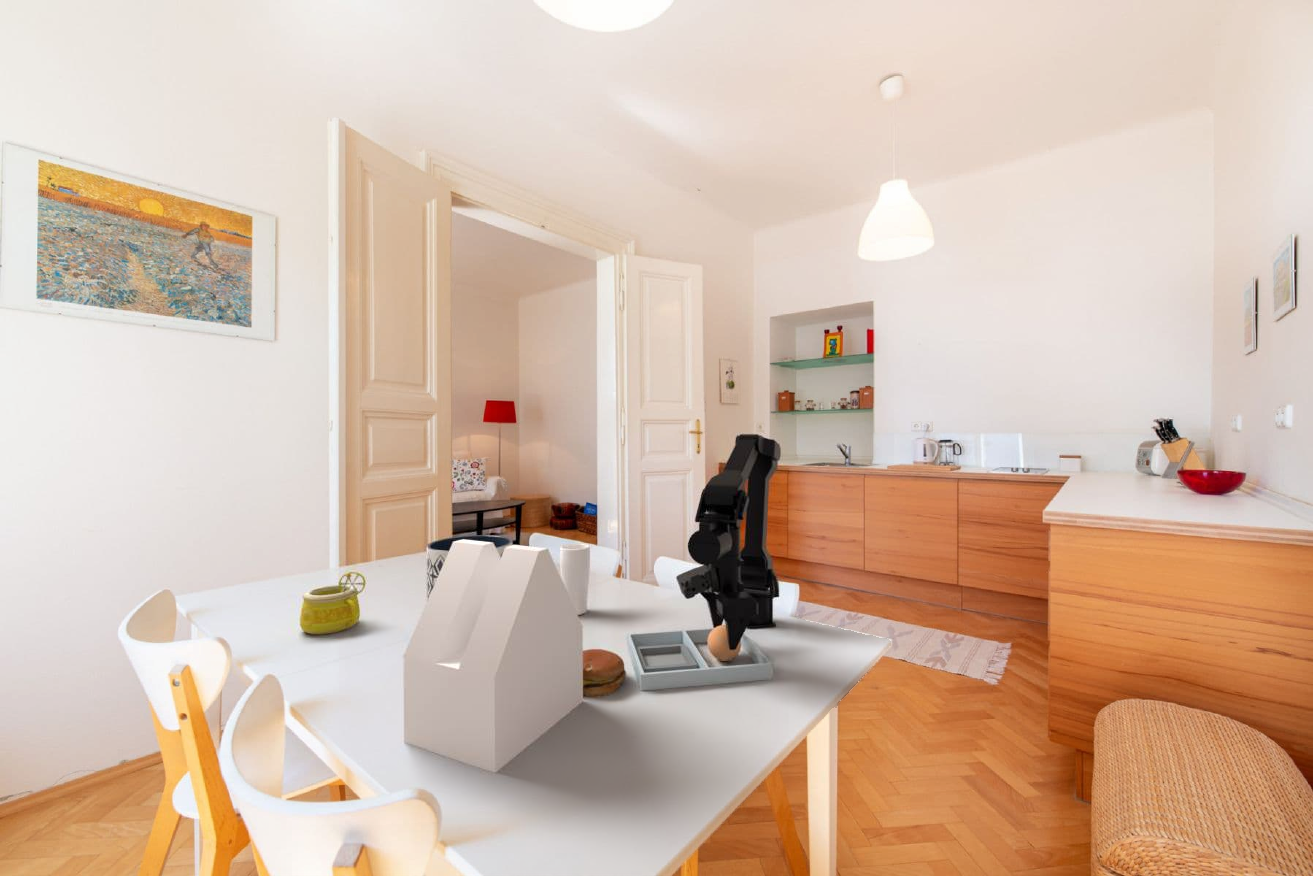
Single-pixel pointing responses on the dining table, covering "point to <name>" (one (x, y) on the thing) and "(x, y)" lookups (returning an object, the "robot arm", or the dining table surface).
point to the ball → (721, 644)
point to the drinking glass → (576, 573)
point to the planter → (441, 548)
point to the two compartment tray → (703, 673)
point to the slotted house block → (492, 655)
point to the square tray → (665, 658)
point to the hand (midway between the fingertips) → (724, 639)
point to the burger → (601, 672)
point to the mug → (331, 607)
